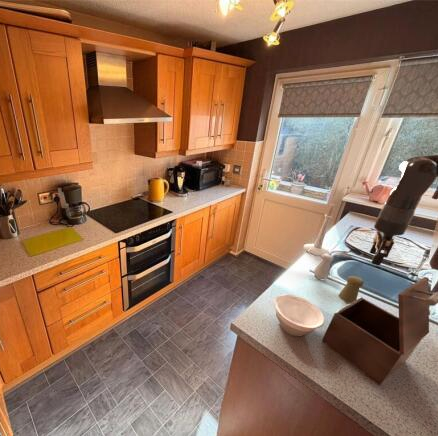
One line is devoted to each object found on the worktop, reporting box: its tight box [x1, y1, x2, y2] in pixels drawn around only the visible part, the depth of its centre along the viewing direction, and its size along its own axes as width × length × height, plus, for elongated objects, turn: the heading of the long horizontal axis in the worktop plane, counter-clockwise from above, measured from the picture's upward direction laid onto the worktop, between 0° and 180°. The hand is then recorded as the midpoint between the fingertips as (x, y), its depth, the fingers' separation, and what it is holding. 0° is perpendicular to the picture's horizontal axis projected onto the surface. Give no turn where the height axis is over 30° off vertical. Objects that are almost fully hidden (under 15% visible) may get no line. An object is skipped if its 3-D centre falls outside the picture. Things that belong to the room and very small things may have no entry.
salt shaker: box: [313, 254, 334, 280], centre depth 112 cm, size 6×6×13 cm
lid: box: [397, 276, 438, 355], centre depth 63 cm, size 17×17×5 cm
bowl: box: [273, 294, 325, 337], centre depth 87 cm, size 16×16×9 cm
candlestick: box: [303, 203, 336, 257], centre depth 131 cm, size 13×13×30 cm
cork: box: [338, 275, 364, 304], centre depth 99 cm, size 6×6×11 cm
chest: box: [321, 297, 423, 386], centre depth 76 cm, size 17×17×14 cm
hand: (374, 258), depth 84 cm, fingers open, 8 cm apart
